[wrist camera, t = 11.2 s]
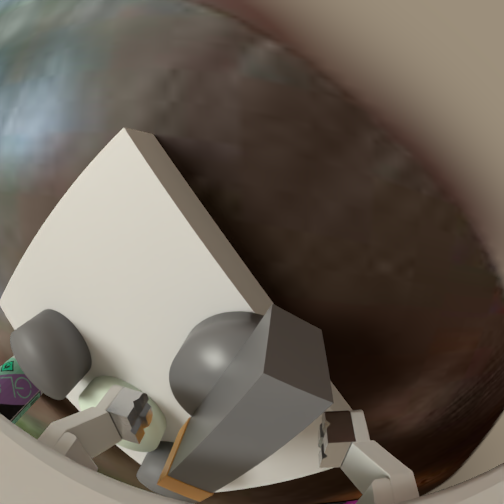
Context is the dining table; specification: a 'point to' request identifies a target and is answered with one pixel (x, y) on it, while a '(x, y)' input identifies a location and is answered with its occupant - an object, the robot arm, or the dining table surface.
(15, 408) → the spray can
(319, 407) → the wing knob
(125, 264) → the base
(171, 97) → the dining table surface
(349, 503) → the candy bar box
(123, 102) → the dining table surface
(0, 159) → the dining table surface
